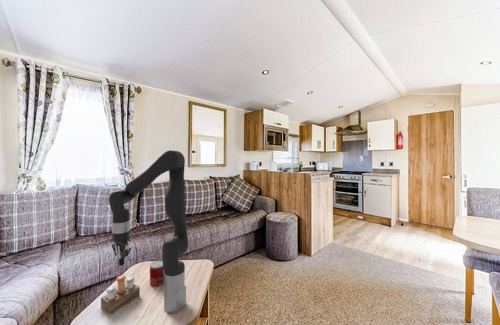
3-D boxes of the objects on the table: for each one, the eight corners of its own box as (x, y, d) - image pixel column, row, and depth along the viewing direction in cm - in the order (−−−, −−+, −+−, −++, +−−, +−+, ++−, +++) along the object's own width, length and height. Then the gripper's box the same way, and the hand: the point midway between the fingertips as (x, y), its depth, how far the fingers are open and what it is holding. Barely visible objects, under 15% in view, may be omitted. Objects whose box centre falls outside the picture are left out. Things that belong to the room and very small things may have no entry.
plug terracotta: (127, 294, 101) (127, 276, 101) (119, 298, 98) (119, 280, 98) (122, 291, 103) (122, 274, 103) (114, 296, 100) (114, 278, 100)
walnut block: (139, 296, 105) (139, 286, 105) (110, 314, 93) (110, 303, 92) (130, 291, 109) (130, 282, 109) (101, 308, 96) (101, 297, 96)
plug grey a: (117, 305, 97) (117, 287, 97) (109, 310, 94) (109, 292, 94) (113, 302, 99) (113, 285, 99) (104, 307, 96) (104, 289, 96)
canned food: (159, 287, 112) (159, 268, 112) (146, 285, 113) (146, 266, 113) (167, 279, 119) (167, 261, 119) (155, 277, 121) (155, 259, 121)
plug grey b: (135, 294, 105) (136, 278, 105) (128, 299, 102) (128, 281, 102) (131, 292, 107) (131, 275, 107) (124, 296, 104) (124, 279, 104)
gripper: (136, 230, 100) (136, 265, 100) (121, 225, 106) (121, 258, 107) (121, 235, 93) (121, 272, 94) (105, 230, 100) (105, 264, 100)
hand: (121, 264), depth 100 cm, fingers closed
